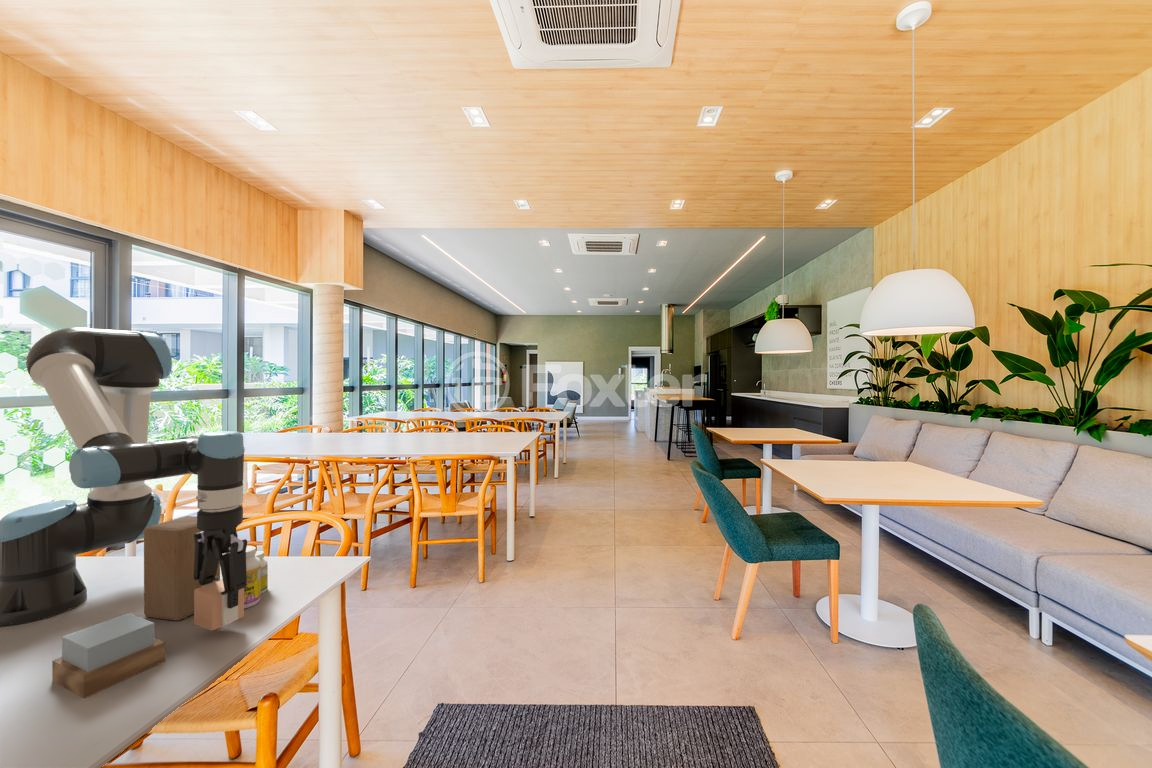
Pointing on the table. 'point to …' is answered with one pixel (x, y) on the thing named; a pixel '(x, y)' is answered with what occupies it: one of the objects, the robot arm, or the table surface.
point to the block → (170, 569)
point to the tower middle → (107, 641)
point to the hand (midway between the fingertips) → (219, 618)
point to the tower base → (106, 670)
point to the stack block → (212, 605)
